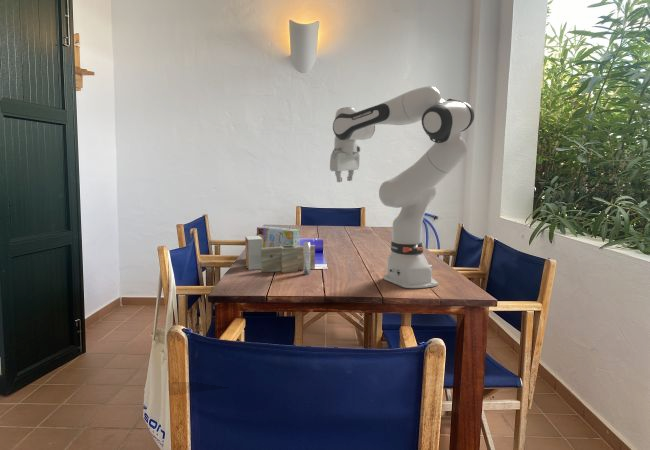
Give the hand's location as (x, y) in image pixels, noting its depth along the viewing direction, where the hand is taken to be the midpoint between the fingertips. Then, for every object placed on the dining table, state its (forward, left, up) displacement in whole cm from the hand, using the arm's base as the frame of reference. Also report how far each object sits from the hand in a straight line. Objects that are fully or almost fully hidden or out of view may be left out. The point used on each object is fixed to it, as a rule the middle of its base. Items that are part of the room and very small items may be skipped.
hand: (344, 181), depth 201 cm
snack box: (+19, +25, -37) cm, 49 cm away
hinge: (0, +24, -37) cm, 44 cm away
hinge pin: (-8, +18, -37) cm, 42 cm away
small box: (+9, +37, -37) cm, 53 cm away
